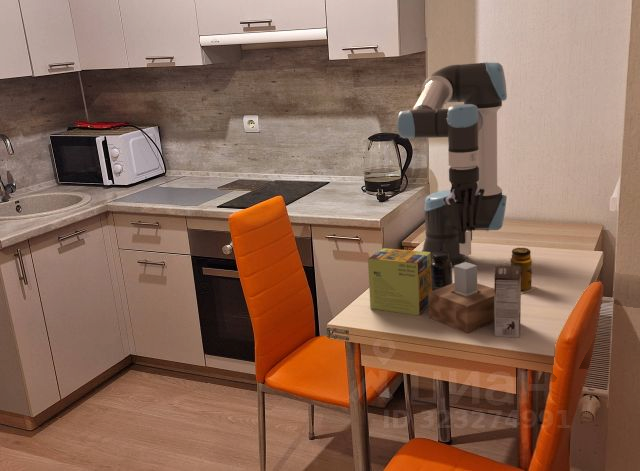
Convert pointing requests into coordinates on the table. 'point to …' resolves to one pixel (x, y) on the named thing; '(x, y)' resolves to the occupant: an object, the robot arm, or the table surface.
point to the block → (462, 308)
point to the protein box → (400, 280)
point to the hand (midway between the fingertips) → (465, 253)
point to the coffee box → (507, 300)
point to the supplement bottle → (440, 270)
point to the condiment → (523, 267)
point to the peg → (465, 279)
